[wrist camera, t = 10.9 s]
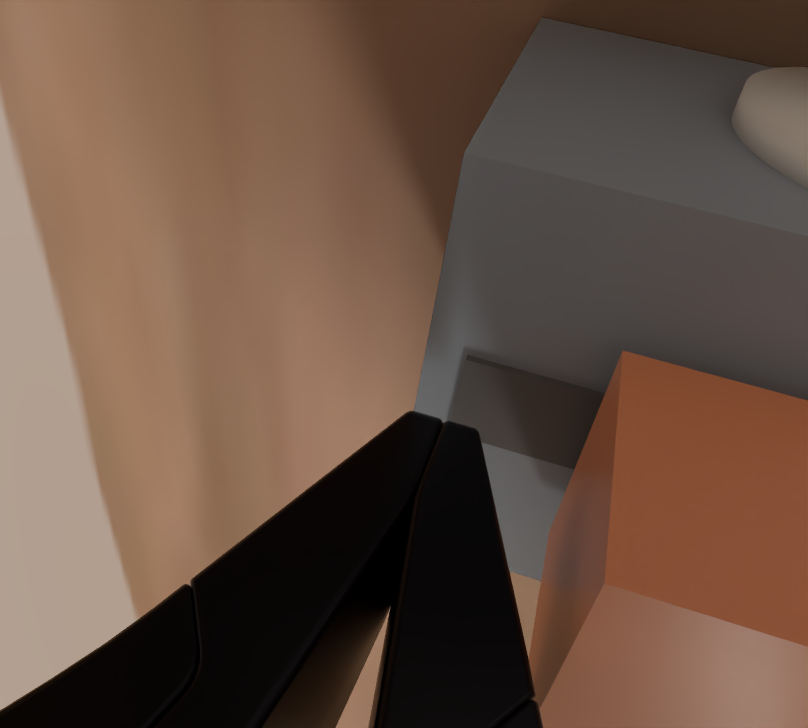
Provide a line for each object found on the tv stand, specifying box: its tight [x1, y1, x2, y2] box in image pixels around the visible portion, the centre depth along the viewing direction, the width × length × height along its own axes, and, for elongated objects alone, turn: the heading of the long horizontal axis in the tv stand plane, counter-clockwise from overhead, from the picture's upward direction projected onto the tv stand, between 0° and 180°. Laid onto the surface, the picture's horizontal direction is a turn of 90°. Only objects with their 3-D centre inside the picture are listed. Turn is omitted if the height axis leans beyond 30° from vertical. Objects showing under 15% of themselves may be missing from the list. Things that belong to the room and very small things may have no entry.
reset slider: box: [529, 351, 808, 728], centre depth 7 cm, size 3×3×3 cm
